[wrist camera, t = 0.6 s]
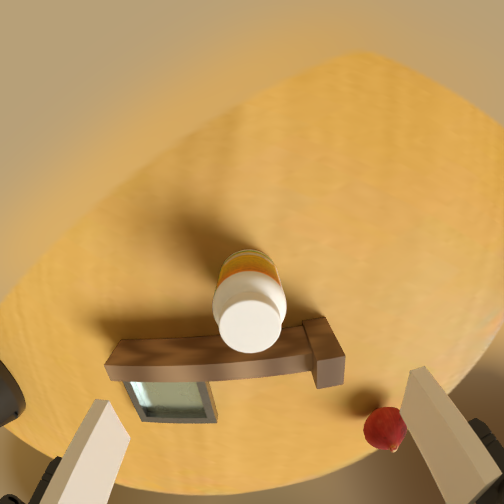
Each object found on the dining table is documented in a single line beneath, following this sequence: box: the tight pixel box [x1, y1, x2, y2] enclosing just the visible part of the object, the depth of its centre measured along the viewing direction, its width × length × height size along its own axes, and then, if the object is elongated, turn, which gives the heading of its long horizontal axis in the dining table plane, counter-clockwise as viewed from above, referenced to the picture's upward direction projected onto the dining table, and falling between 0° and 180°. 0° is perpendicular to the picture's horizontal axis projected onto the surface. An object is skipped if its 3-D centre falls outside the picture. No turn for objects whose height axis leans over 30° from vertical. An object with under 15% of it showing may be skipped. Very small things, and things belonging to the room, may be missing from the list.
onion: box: [363, 407, 407, 453], centre depth 29 cm, size 6×6×8 cm
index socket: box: [123, 381, 218, 423], centre depth 30 cm, size 10×10×2 cm
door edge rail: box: [104, 317, 345, 389], centre depth 26 cm, size 22×3×7 cm, turn 97°
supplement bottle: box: [212, 249, 286, 353], centre depth 22 cm, size 5×5×10 cm
